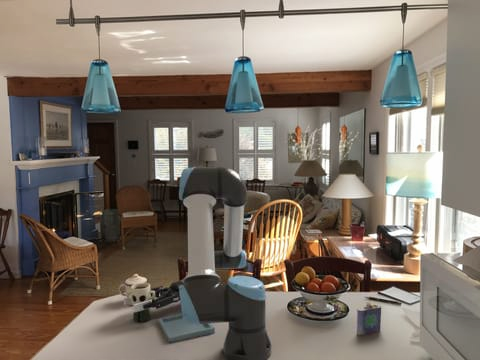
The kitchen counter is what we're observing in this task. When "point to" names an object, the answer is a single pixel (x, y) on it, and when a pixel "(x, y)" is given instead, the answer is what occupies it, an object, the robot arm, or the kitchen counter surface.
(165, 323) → the tray
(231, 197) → the robot arm
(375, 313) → the flask
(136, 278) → the teacup with lid
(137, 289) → the character mug
